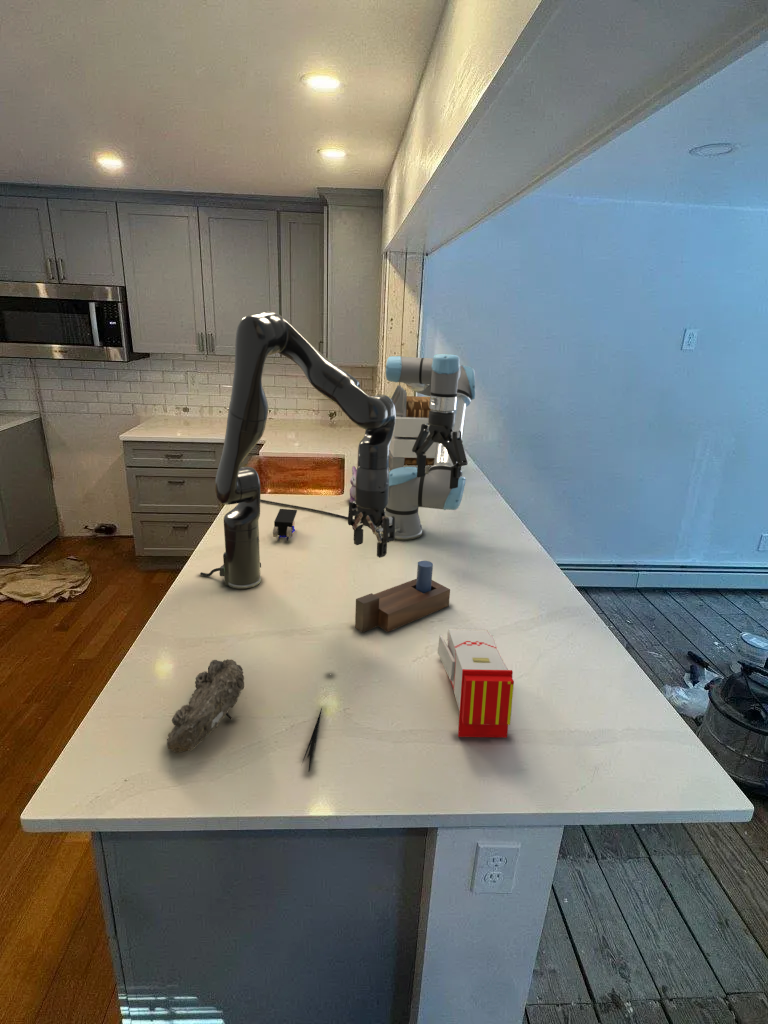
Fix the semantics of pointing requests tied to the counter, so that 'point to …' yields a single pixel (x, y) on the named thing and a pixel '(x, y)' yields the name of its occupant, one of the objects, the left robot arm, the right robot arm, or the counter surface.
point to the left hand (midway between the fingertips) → (369, 550)
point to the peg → (424, 576)
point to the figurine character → (284, 523)
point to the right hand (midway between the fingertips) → (436, 482)
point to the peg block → (399, 606)
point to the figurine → (353, 485)
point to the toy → (478, 682)
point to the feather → (313, 740)
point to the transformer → (409, 429)
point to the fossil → (206, 705)
